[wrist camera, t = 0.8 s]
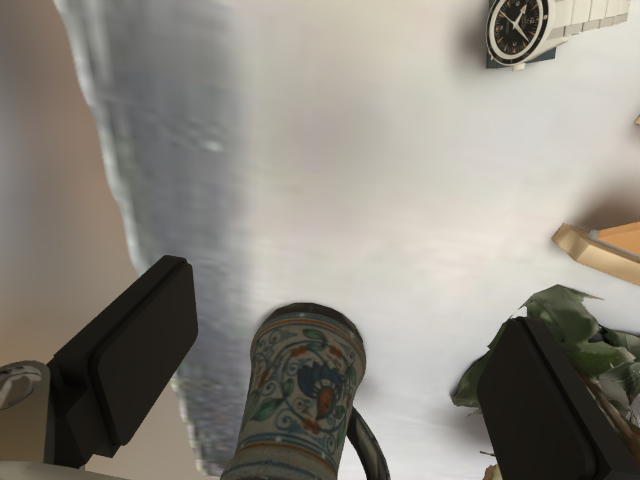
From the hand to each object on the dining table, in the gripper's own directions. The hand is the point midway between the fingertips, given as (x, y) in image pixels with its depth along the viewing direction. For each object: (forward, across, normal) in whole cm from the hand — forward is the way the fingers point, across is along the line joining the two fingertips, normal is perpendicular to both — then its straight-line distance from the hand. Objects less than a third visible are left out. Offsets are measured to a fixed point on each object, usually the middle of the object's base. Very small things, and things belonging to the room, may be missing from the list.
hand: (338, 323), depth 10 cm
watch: (+29, -11, -11) cm, 33 cm away
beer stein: (+29, +2, +30) cm, 42 cm away
